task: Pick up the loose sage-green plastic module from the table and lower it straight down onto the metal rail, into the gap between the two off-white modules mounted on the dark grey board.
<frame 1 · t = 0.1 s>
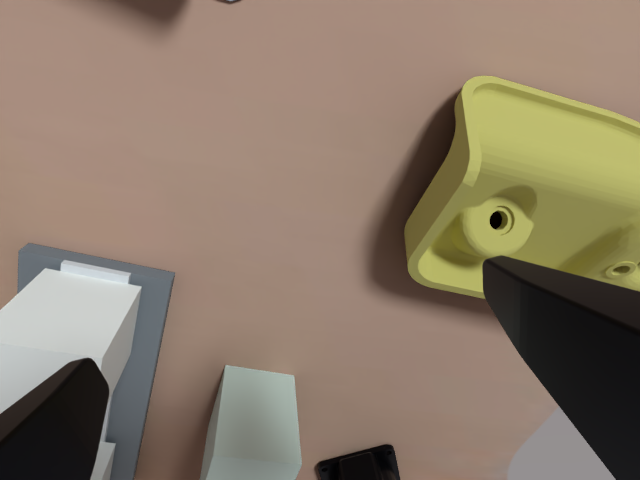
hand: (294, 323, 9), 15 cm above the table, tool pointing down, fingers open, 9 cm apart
module: (250, 400, 29), on the table
plastic component: (542, 209, 26), on the table
rail board: (90, 379, 26), on the table
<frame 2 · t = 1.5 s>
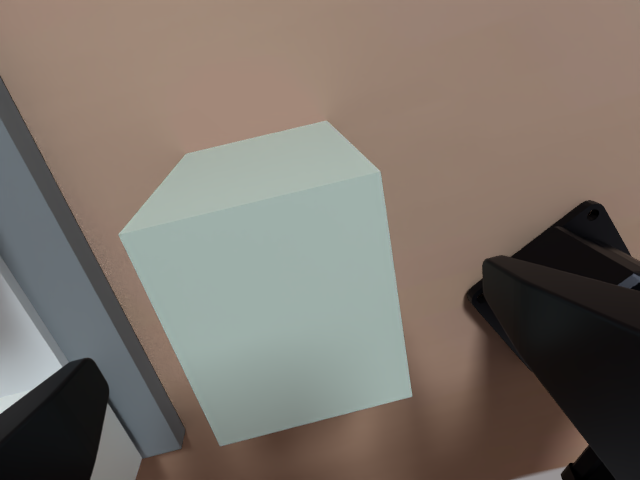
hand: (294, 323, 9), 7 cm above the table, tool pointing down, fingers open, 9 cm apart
module: (278, 215, 15), on the table
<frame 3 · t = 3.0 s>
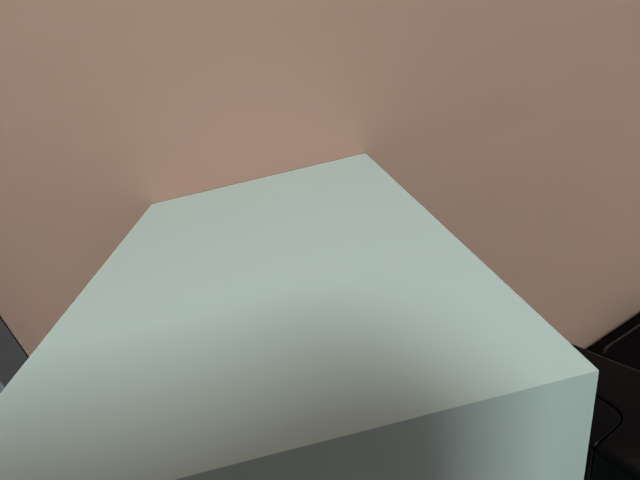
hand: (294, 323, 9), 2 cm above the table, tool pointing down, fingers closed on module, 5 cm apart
module: (290, 287, 10), on the table, touching gripper
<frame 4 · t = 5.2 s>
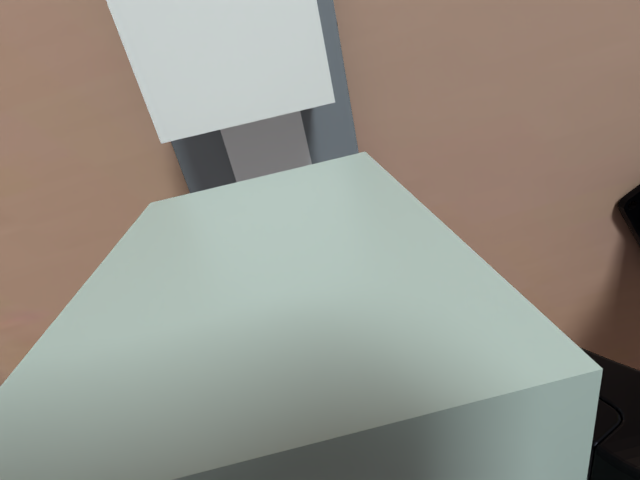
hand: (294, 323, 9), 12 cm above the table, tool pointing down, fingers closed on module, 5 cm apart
module: (289, 286, 10), point 10 cm above the table, touching gripper
rail board: (278, 183, 19), on the table
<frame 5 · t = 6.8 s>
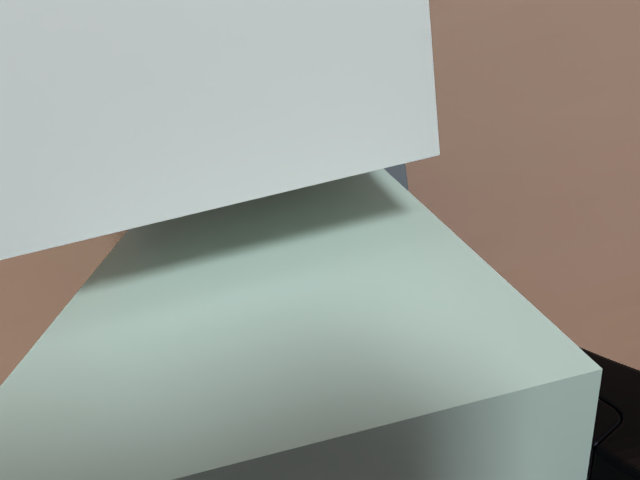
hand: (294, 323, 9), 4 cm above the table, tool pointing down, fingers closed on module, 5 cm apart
module: (289, 286, 10), point 3 cm above the table, touching gripper
rail board: (283, 243, 13), on the table
when the fingers open (4 cm above the table, at t = 7.7 s): module drops 1 cm, resting on rail board.
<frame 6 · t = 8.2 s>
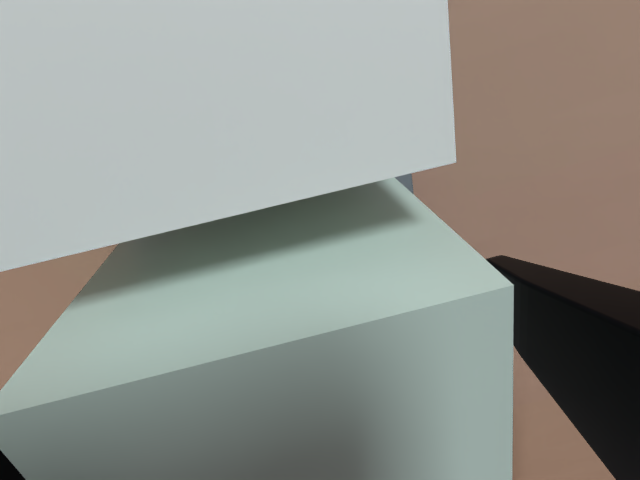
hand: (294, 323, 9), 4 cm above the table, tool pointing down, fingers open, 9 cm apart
module: (288, 266, 11), point 1 cm above the table, touching rail board
rail board: (284, 247, 12), on the table
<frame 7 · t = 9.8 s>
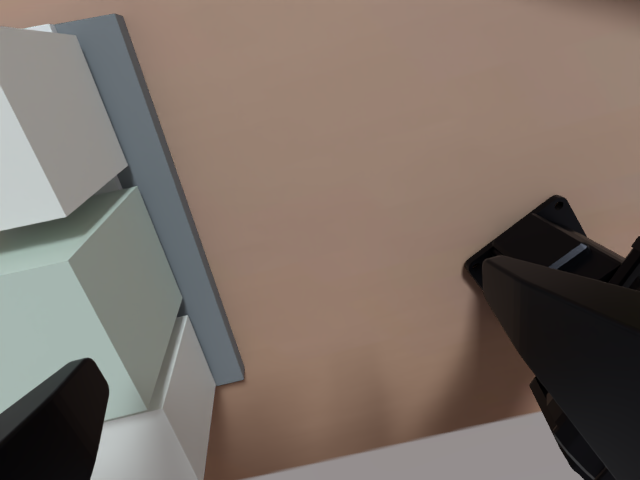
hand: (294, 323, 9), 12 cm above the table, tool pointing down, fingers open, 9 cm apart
module: (108, 257, 18), point 1 cm above the table, touching rail board
rail board: (117, 246, 20), on the table
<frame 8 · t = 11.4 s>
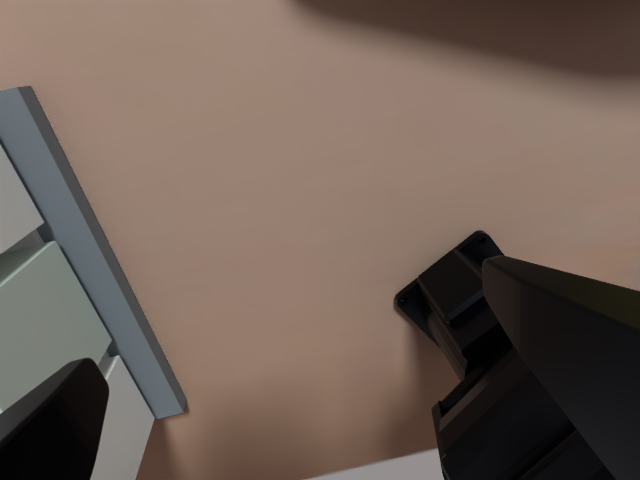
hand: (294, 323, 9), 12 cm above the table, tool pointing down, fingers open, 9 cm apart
module: (35, 305, 19), point 1 cm above the table, touching rail board
rail board: (49, 291, 21), on the table
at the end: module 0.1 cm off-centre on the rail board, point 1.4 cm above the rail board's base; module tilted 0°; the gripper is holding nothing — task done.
